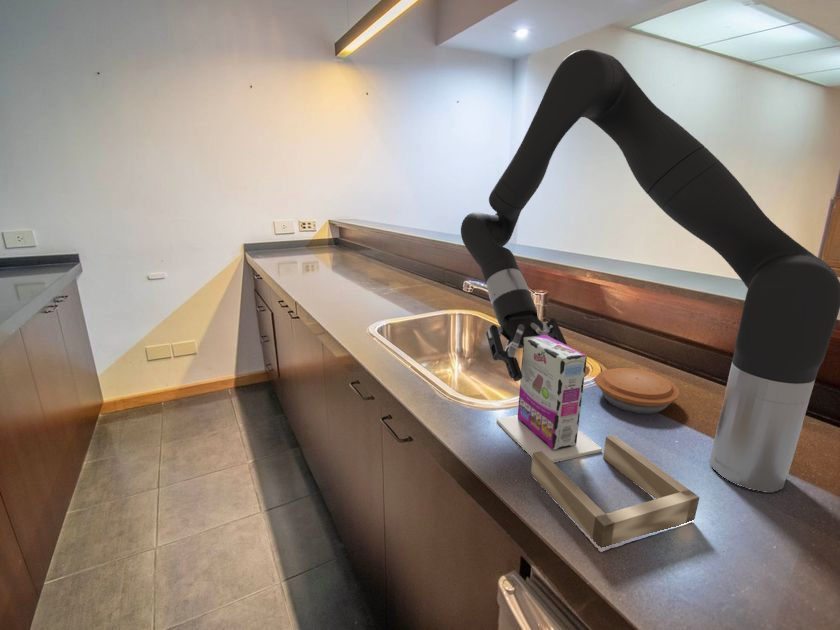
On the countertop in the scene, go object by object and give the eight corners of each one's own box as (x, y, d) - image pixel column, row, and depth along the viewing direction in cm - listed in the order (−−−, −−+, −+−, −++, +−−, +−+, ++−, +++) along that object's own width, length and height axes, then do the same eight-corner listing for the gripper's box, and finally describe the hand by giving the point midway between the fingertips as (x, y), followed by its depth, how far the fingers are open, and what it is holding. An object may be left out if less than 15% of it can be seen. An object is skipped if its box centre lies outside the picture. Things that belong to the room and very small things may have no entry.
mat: (551, 411, 83) (551, 408, 83) (601, 451, 70) (601, 448, 70) (496, 421, 79) (496, 418, 79) (539, 466, 66) (539, 463, 66)
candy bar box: (578, 446, 71) (589, 355, 66) (553, 452, 69) (562, 359, 64) (538, 413, 81) (545, 332, 76) (516, 418, 79) (522, 336, 74)
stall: (610, 456, 69) (613, 434, 68) (693, 522, 55) (699, 497, 54) (530, 475, 64) (532, 453, 63) (600, 552, 51) (604, 525, 49)
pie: (674, 428, 77) (679, 404, 75) (586, 405, 85) (588, 383, 84) (679, 394, 89) (683, 373, 88) (601, 377, 97) (603, 357, 96)
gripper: (484, 290, 76) (513, 374, 69) (551, 284, 80) (585, 363, 73) (470, 310, 82) (495, 389, 75) (533, 304, 87) (563, 378, 80)
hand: (539, 376), depth 74 cm, fingers open, 8 cm apart
